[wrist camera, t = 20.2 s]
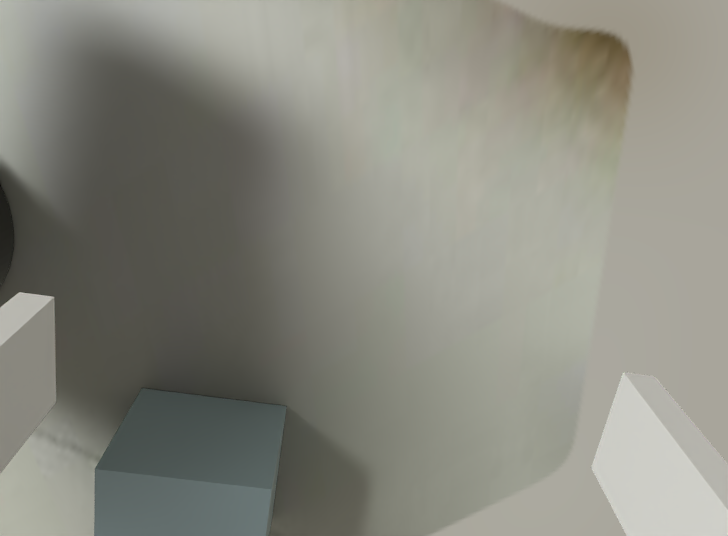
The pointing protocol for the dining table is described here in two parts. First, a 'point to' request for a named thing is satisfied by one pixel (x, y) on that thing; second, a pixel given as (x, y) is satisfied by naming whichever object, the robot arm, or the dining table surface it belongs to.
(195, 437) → the grey-blue flat-faced block
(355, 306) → the dining table surface
